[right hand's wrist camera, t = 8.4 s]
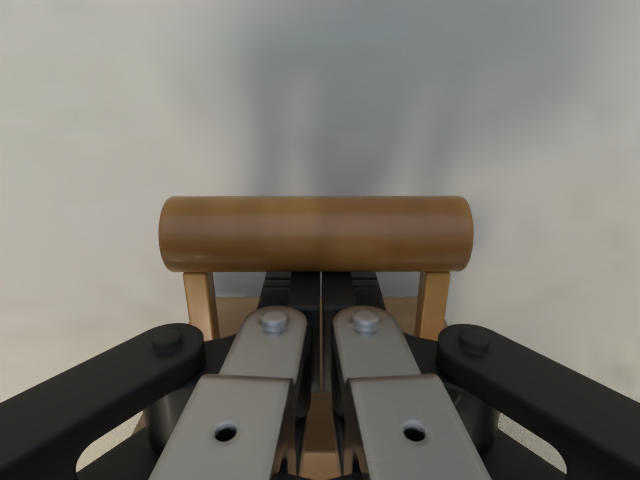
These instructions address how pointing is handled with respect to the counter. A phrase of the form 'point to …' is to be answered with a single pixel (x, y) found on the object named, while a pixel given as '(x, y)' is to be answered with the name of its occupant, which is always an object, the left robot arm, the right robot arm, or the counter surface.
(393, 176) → the counter surface
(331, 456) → the drawer
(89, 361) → the right robot arm
